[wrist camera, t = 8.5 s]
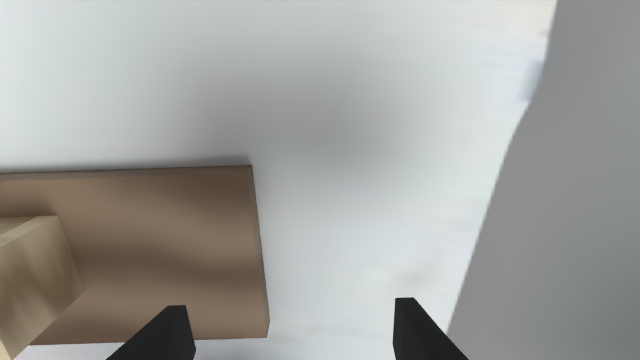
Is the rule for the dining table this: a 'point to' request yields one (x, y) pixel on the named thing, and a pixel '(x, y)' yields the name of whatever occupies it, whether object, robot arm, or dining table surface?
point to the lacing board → (152, 248)
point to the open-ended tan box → (33, 279)
